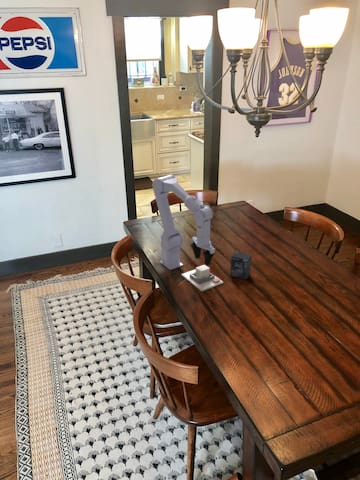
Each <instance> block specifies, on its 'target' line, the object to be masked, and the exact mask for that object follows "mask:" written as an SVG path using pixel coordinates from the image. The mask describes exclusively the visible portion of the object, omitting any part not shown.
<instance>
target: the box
mask: <svg viewBox="0 0 360 480" xmlns="http://www.w3.org/2000/svg"><path fill="white" fill-rule="evenodd" d="M230 263H231V264H230V271H229V272H230V274H229V276H231V277H235V278H238V279H242V280H247V279H248V278H249V275H250V273H251V266H252V265H251V264H252V255H251V254H246V253H243V252H239V251H234V253H233V254H232V255H231V259H230Z"/></svg>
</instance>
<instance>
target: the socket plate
mask: <svg viewBox="0 0 360 480" xmlns="http://www.w3.org/2000/svg"><path fill="white" fill-rule="evenodd" d="M181 276H182V277H183V278H184V279H185V280H186V281H188V282H189V283H190V284H192V286H194V287H196V288H197V289H198V290H199V291H200V292H205V291H207V290H209V289H210V290H211V289H212V288H215V287H217V286H219V285H222V284H224V281H223V280H221V279H220V278H219V277H218V276H216V275H215V274H213V273H211V272H210V276H208V277H205V278H203V279H200V278H198V277H197V276H196V268H195V269H193V270H189V271H187V272H183V273H181Z"/></svg>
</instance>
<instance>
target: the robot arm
mask: <svg viewBox="0 0 360 480" xmlns="http://www.w3.org/2000/svg"><path fill="white" fill-rule="evenodd" d="M151 186H152V189H153V193H154V198H155V201H156V205H157V208H158V213H159V216H160V217H159V218H160V221H161V224H162V228H163V232H162V234H161V235H160V246H161V247H162V248H161V251H160V252H161V260H160V263H161V265H163V266H165V268H166V269H168V270H169V271H171V270H174V269H177V268H180V267H183V266H184V263H182V262H181V259H180V258H181V257H180V256H181V255H180V254H181V248H182V245H183V244H184V238H183V236H182V234H181V232H180V230H179V229H177V228H176V227H175V223H174V220H173V214H172V211H171V207H170V202H169V198H168V195H169V193H170V192H171V193H173V194H174V195H175V196H176V197H178V198H179V199H181V201H183V203H184V204H183V205H184V206H185V208H186V209H187V210H188V211H190V212H191V214H193V217H194V220H195V225H196V236H193V237H191V242H192V243H190V247H191V249H192V252H193V255H194V258H195V260H198V259H200V258H201V252H202V249H203V250H206V251H203V252H202V254H203V259H204V265H206V266H207V267H208V266H209V265H210V264H211V261H212V259H213V258H214V255H215V254H216V248H214V246H213V245H212V241H211V240H210V238H211V236H210V235H211V219H213V217H214V210H213V208H212V207H211V206H210V205H206V204H203V203H202V202H201V201H200V200H199V199H198V198H197V197H196V196H195V195H190V194H189V193H188V192H187V191H186V190H185V189H184V188H183V187H182V186H181V185H180V184H179V181H178V178H176V176H175V175H173V174H168V175H164V176H161V177H156V178H154V180H153V181H152V183H151Z"/></svg>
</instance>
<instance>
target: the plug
mask: <svg viewBox="0 0 360 480" xmlns="http://www.w3.org/2000/svg"><path fill="white" fill-rule="evenodd" d="M195 269H196V276H197V277H198V278H200V279H203V278H205V277H208V276H210V273H211V271H210V269H211V268H210V267H209V266H208V265H207V266H206V265H205V264H202V265H200V266H197V267H195Z"/></svg>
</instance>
